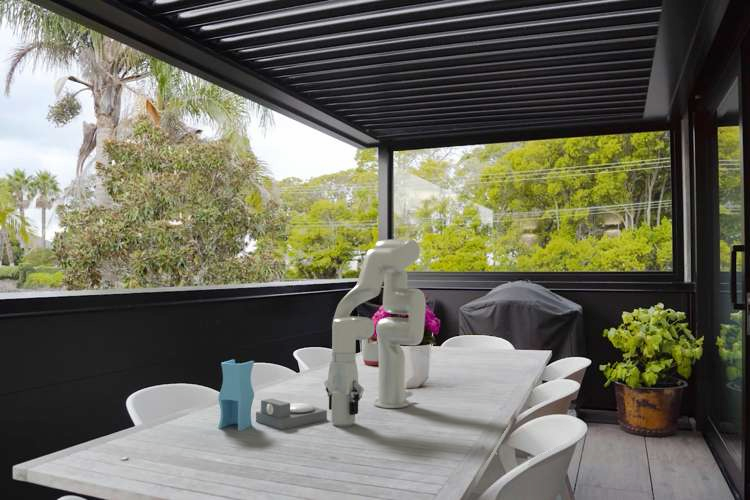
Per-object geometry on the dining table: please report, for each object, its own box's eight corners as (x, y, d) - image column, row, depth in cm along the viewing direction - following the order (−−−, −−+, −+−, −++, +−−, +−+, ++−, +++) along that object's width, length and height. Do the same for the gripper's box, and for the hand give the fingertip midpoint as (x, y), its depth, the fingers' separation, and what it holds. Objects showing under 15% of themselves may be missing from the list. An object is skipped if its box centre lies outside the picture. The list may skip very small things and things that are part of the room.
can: (352, 427, 188) (352, 389, 189) (328, 426, 190) (329, 387, 190) (357, 421, 196) (357, 384, 196) (335, 420, 197) (335, 383, 197)
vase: (253, 424, 191) (254, 360, 192) (240, 430, 184) (241, 364, 184) (232, 422, 194) (232, 359, 194) (218, 428, 186) (218, 363, 187)
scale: (300, 412, 208) (300, 391, 208) (326, 419, 198) (327, 398, 198) (255, 421, 195) (256, 399, 195) (282, 429, 185) (282, 406, 186)
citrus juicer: (357, 366, 306) (357, 326, 306) (363, 361, 323) (364, 323, 323) (388, 367, 303) (388, 327, 304) (392, 362, 320) (393, 324, 321)
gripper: (317, 355, 197) (316, 409, 196) (353, 361, 184) (353, 418, 184) (334, 353, 202) (334, 405, 201) (371, 359, 190) (370, 414, 189)
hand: (343, 411), depth 193 cm, fingers open, 9 cm apart
